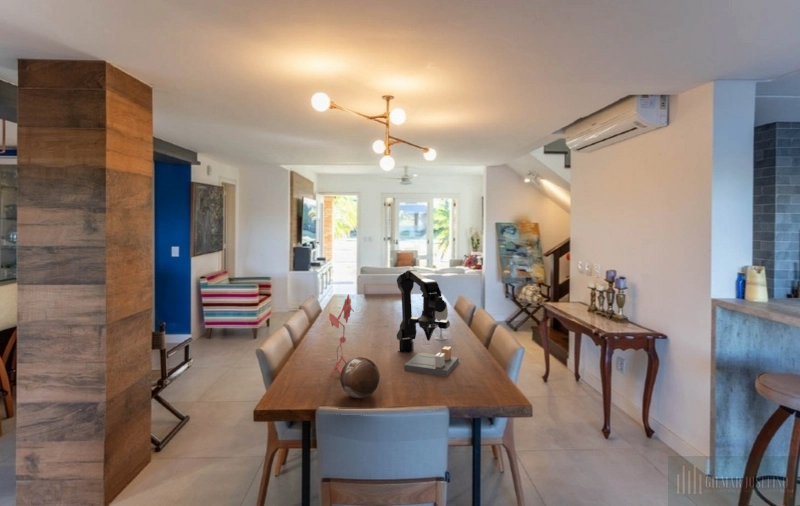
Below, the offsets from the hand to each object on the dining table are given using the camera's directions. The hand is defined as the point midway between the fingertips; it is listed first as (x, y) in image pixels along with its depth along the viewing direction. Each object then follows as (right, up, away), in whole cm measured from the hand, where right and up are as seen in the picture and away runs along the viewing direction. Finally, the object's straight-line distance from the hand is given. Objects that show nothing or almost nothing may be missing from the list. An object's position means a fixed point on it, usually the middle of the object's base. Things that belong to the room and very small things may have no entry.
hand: (428, 340), depth 204 cm
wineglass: (+10, -8, +46) cm, 48 cm away
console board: (+2, -12, -2) cm, 12 cm away
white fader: (+4, -9, -10) cm, 14 cm away
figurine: (-36, -12, -10) cm, 40 cm away
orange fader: (+8, -9, 0) cm, 12 cm away
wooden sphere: (-29, -14, -37) cm, 49 cm away
